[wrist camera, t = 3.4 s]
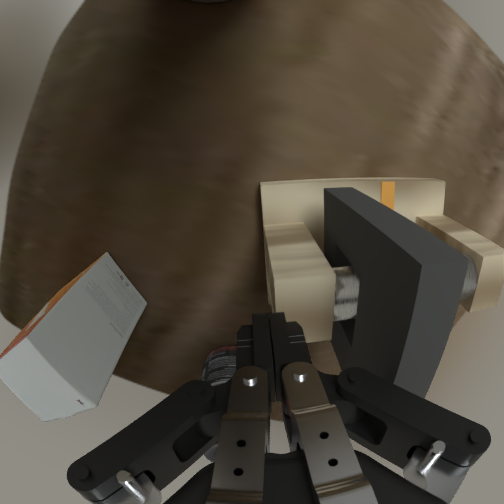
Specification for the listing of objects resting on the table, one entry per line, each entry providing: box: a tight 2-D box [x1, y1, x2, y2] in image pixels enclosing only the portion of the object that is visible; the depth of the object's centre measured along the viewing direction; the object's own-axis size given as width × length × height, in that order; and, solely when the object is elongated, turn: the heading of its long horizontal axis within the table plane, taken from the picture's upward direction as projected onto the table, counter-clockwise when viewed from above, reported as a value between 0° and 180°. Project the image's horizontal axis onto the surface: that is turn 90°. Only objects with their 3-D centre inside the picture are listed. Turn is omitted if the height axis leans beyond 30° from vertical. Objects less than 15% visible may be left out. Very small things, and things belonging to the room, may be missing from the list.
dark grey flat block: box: [324, 187, 469, 398], centre depth 15 cm, size 10×2×12 cm, turn 4°
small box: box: [0, 252, 147, 422], centre depth 20 cm, size 8×6×13 cm
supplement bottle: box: [201, 346, 237, 462], centre depth 24 cm, size 6×6×11 cm
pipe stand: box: [260, 178, 504, 343], centre depth 20 cm, size 10×16×11 cm, turn 94°
